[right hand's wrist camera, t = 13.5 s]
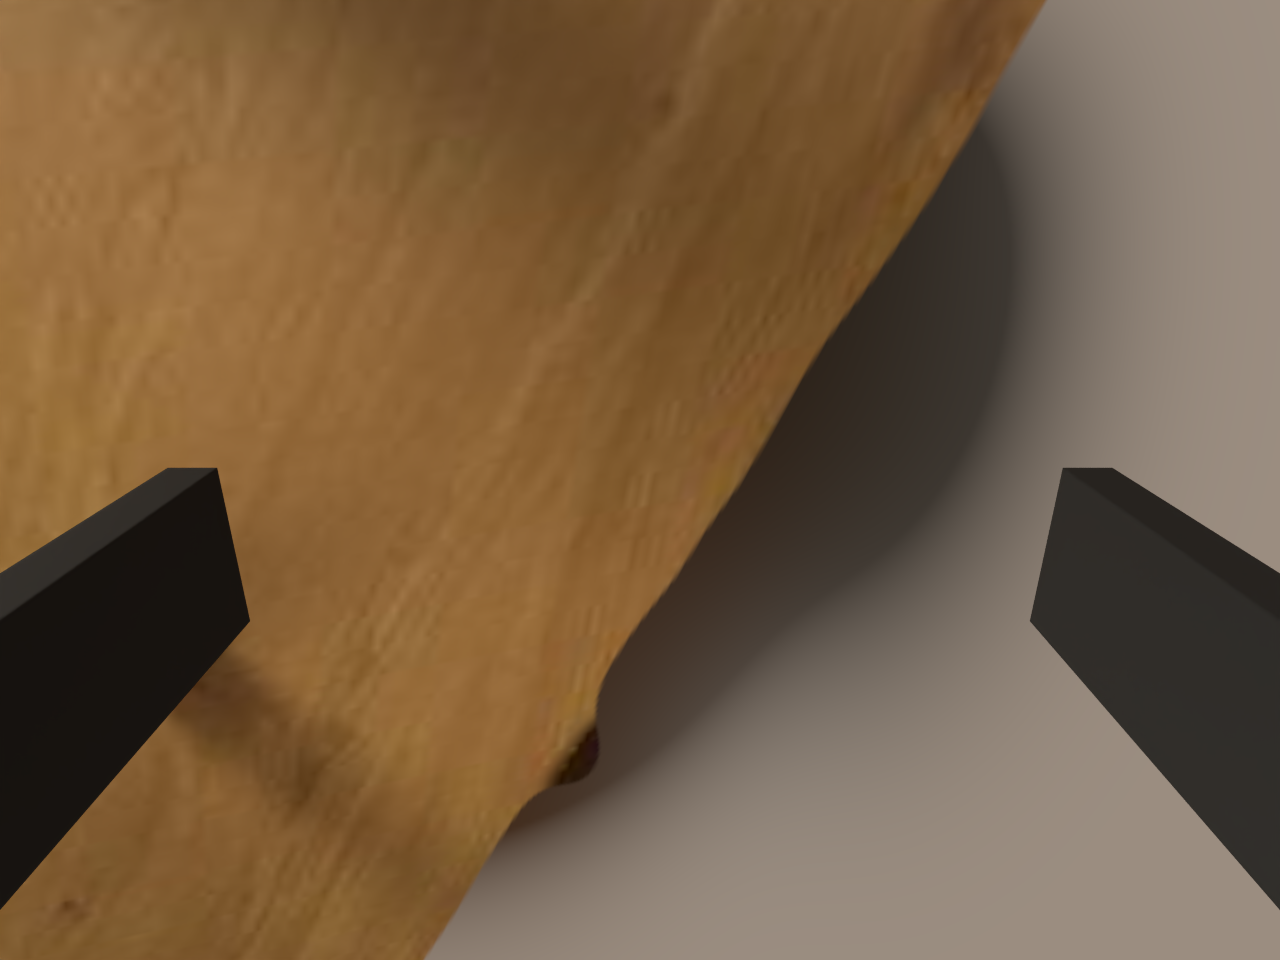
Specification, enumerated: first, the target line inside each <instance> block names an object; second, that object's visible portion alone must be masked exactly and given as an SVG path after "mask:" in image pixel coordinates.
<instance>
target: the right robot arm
mask: <svg viewBox="0 0 1280 960" xmlns="http://www.w3.org/2000/svg"><path fill="white" fill-rule="evenodd" d="M249 622H250V619H249V614H248V609H247V605H246V600H245V595H244V591H243V586H242V581H241V577H240V572H239V568H238V563H237V558H236V554H235V549H234V544H233V540H232V535H231V530H230V526H229V521H228V516H227V512H226V507H225V502H224V498H223V493H222V489H221V484H220V479H219V475H218V470H217V468H167V469H165V470H164V471H162V472H160V473H159V474H157V475H156V476H154V477H152V478H151V479H149V480H148V481H146V482H145V483H143V484H141V485H140V486H138V487H137V488H135V489H133V490H132V491H130V492H129V493H127V494H125V495H124V496H122V497H121V498H119V499H118V500H116V501H114V502H113V503H111V504H110V505H108V506H106V507H105V508H103V509H102V510H100V511H98V512H97V513H95V514H94V515H92V516H91V517H89V518H87V519H86V520H84V521H83V522H81V523H79V524H78V525H76V526H75V527H73V528H71V529H70V530H68V531H67V532H65V533H64V534H62V535H60V536H59V537H57V538H56V539H54V540H52V541H51V542H49V543H48V544H46V545H45V546H43V547H41V548H40V549H38V550H37V551H35V552H33V553H32V554H30V555H29V556H27V557H25V558H24V559H22V560H21V561H19V562H18V563H16V564H14V565H13V566H11V567H10V568H8V569H6V570H5V571H3V572H2V573H0V909H1V908H2V907H3V906H4V905H5V904H6V902H7V901H8V900H9V899H10V898H11V897H12V896H13V894H14V893H15V892H16V891H17V890H18V889H19V887H20V886H21V885H22V884H23V883H24V882H25V881H26V879H27V878H28V877H29V876H30V875H31V874H32V872H33V871H34V870H35V869H36V868H37V867H38V865H39V864H40V863H41V862H42V861H43V860H44V859H45V857H46V856H47V855H48V854H49V853H50V852H51V850H52V849H53V848H54V847H55V846H56V845H57V844H58V842H59V841H60V840H61V839H62V838H63V837H64V835H65V834H66V833H67V832H68V831H69V830H70V829H71V827H72V826H73V825H74V824H75V823H76V822H77V820H78V819H79V818H80V817H81V816H82V815H83V813H84V812H85V811H86V810H87V809H88V808H89V807H90V805H91V804H92V803H93V802H94V801H95V800H96V798H97V797H98V796H99V795H100V794H101V793H102V792H103V790H104V789H105V788H106V787H107V786H108V785H109V783H110V782H111V781H112V780H113V779H114V778H115V777H116V775H117V774H118V773H119V772H120V771H121V770H122V768H123V767H124V766H125V765H126V764H127V763H128V761H129V760H130V759H131V758H132V757H133V756H134V755H135V753H136V752H137V751H138V750H139V749H140V748H141V746H142V745H143V744H144V743H145V742H146V741H147V740H148V738H149V737H150V736H151V735H152V734H153V733H154V731H155V730H156V729H157V728H158V727H159V726H160V725H161V723H162V722H163V721H164V720H165V719H166V718H167V716H168V715H169V714H170V713H171V712H172V711H173V709H174V708H175V707H176V706H177V705H178V704H179V703H180V701H181V700H182V699H183V698H184V697H185V696H186V694H187V693H188V692H189V691H190V690H191V689H192V688H193V686H194V685H195V684H196V683H197V682H198V681H199V679H200V678H201V677H202V676H203V675H204V674H205V673H206V671H207V670H208V669H209V668H210V667H211V666H212V664H213V663H214V662H215V661H216V660H217V659H218V657H219V656H220V655H221V654H222V653H223V652H224V651H225V649H226V648H227V647H228V646H229V645H230V644H231V642H232V641H233V640H234V639H235V638H236V637H237V636H238V634H239V633H240V632H241V631H242V630H243V629H244V627H245V626H246V625H247V624H248V623H249ZM1030 622H1031V623H1032V624H1033V625H1034V626H1035V627H1036V629H1037V630H1038V631H1039V632H1040V633H1041V634H1042V636H1043V637H1044V638H1045V639H1046V640H1047V641H1048V642H1049V644H1050V645H1051V646H1052V647H1053V648H1054V649H1055V651H1056V652H1057V653H1058V654H1059V655H1060V656H1061V657H1062V659H1063V660H1064V661H1065V662H1066V663H1067V664H1068V666H1069V667H1070V668H1071V669H1072V670H1073V671H1074V673H1075V674H1076V675H1077V676H1078V677H1079V678H1080V679H1081V681H1082V682H1083V683H1084V684H1085V685H1086V686H1087V688H1088V689H1089V690H1090V691H1091V692H1092V693H1093V694H1094V696H1095V697H1096V698H1097V699H1098V700H1099V701H1100V703H1101V704H1102V705H1103V706H1104V707H1105V708H1106V709H1107V711H1108V712H1109V713H1110V714H1111V715H1112V716H1113V718H1114V719H1115V720H1116V721H1117V722H1118V723H1119V724H1120V726H1121V727H1122V728H1123V729H1124V730H1125V731H1126V733H1127V734H1128V735H1129V736H1130V737H1131V738H1132V739H1133V741H1134V742H1135V743H1136V744H1137V745H1138V746H1139V748H1140V749H1141V750H1142V751H1143V752H1144V753H1145V755H1146V756H1147V757H1148V758H1149V759H1150V760H1151V761H1152V763H1153V764H1154V765H1155V766H1156V767H1157V768H1158V770H1159V771H1160V772H1161V773H1162V774H1163V775H1164V776H1165V778H1166V779H1167V780H1168V781H1169V782H1170V783H1171V785H1172V786H1173V787H1174V788H1175V789H1176V790H1177V791H1178V793H1179V794H1180V795H1181V796H1182V797H1183V798H1184V800H1185V801H1186V802H1187V803H1188V804H1189V805H1190V807H1191V808H1192V809H1193V810H1194V811H1195V812H1196V813H1197V815H1198V816H1199V817H1200V818H1201V819H1202V820H1203V822H1204V823H1205V824H1206V825H1207V826H1208V827H1209V829H1210V830H1211V831H1212V832H1213V833H1214V834H1215V835H1216V837H1217V838H1218V839H1219V840H1220V841H1221V842H1222V843H1223V845H1224V846H1225V847H1226V848H1227V849H1228V850H1229V852H1230V853H1231V854H1232V855H1233V856H1234V857H1235V859H1236V860H1237V861H1238V862H1239V863H1240V864H1241V865H1242V867H1243V868H1244V869H1245V870H1246V871H1247V872H1248V874H1249V875H1250V876H1251V877H1252V878H1253V879H1254V881H1255V882H1256V883H1257V884H1258V885H1259V886H1260V887H1261V889H1262V890H1263V891H1264V892H1265V893H1266V894H1267V896H1268V897H1269V898H1270V899H1271V900H1272V901H1273V902H1274V904H1275V905H1276V906H1277V907H1278V908H1279V909H1280V573H1278V572H1277V571H1275V570H1274V569H1272V568H1270V567H1269V566H1267V565H1266V564H1264V563H1262V562H1261V561H1259V560H1258V559H1256V558H1255V557H1253V556H1251V555H1250V554H1248V553H1247V552H1245V551H1243V550H1242V549H1240V548H1239V547H1237V546H1235V545H1234V544H1232V543H1231V542H1229V541H1227V540H1226V539H1224V538H1223V537H1221V536H1220V535H1218V534H1216V533H1215V532H1213V531H1212V530H1210V529H1208V528H1207V527H1205V526H1204V525H1202V524H1201V523H1199V522H1197V521H1196V520H1194V519H1193V518H1191V517H1189V516H1188V515H1186V514H1185V513H1183V512H1182V511H1180V510H1178V509H1177V508H1175V507H1174V506H1172V505H1170V504H1169V503H1167V502H1166V501H1164V500H1162V499H1161V498H1159V497H1158V496H1156V495H1155V494H1153V493H1151V492H1150V491H1148V490H1147V489H1145V488H1143V487H1142V486H1140V485H1139V484H1137V483H1135V482H1134V481H1132V480H1131V479H1129V478H1127V477H1126V476H1124V475H1123V474H1121V473H1120V472H1118V471H1116V470H1115V469H1113V468H1063V470H1062V475H1061V479H1060V484H1059V489H1058V493H1057V498H1056V502H1055V507H1054V512H1053V516H1052V521H1051V526H1050V530H1049V535H1048V540H1047V544H1046V549H1045V554H1044V558H1043V563H1042V568H1041V572H1040V577H1039V581H1038V586H1037V591H1036V596H1035V600H1034V605H1033V610H1032V614H1031V619H1030Z"/></svg>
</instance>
